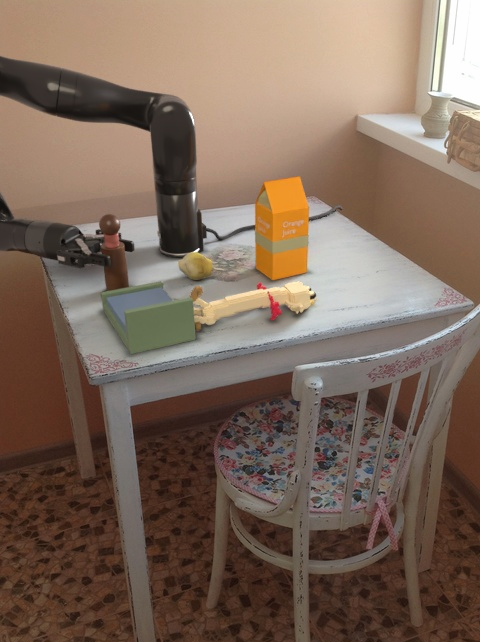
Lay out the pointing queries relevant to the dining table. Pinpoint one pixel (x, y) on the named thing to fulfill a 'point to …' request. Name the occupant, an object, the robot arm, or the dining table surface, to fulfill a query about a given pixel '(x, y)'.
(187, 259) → the fruit
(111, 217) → the skittle
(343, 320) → the dining table surface
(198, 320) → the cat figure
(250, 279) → the dining table surface
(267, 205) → the orange juice
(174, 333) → the bed
